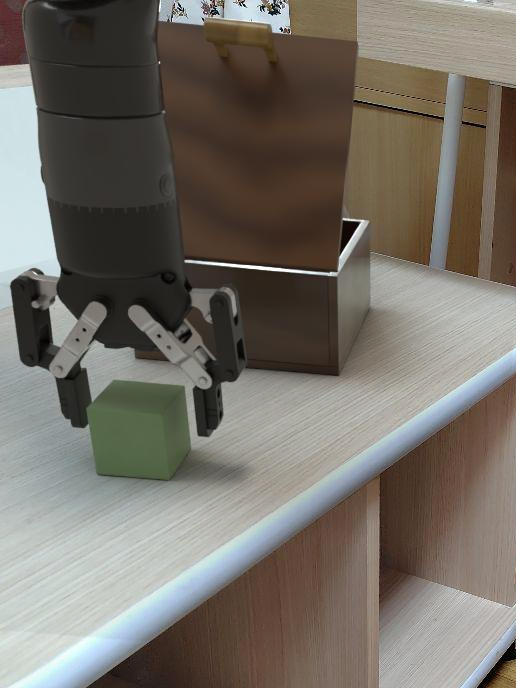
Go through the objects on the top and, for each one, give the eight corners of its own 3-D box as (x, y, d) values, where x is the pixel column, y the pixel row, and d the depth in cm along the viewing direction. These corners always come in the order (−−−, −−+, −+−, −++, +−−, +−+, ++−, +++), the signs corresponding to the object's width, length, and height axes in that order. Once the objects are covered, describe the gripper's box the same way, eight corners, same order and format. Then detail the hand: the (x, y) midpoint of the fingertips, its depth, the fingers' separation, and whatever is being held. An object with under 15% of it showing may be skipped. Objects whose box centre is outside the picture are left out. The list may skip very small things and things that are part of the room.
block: (96, 474, 68) (85, 408, 65) (122, 442, 72) (113, 379, 70) (169, 480, 68) (162, 414, 66) (191, 448, 72) (185, 385, 70)
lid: (146, 24, 82) (124, -13, 77) (358, 46, 83) (350, 11, 78) (122, 252, 81) (98, 230, 76) (338, 272, 82) (328, 251, 77)
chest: (198, 291, 101) (190, 203, 97) (370, 307, 102) (370, 220, 97) (134, 357, 85) (121, 256, 81) (338, 375, 86) (337, 276, 82)
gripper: (245, 184, 64) (261, 413, 72) (21, 165, 63) (63, 398, 72) (212, 212, 58) (234, 460, 66) (-37, 190, 57) (16, 444, 65)
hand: (145, 428), depth 69 cm, fingers open, 8 cm apart
